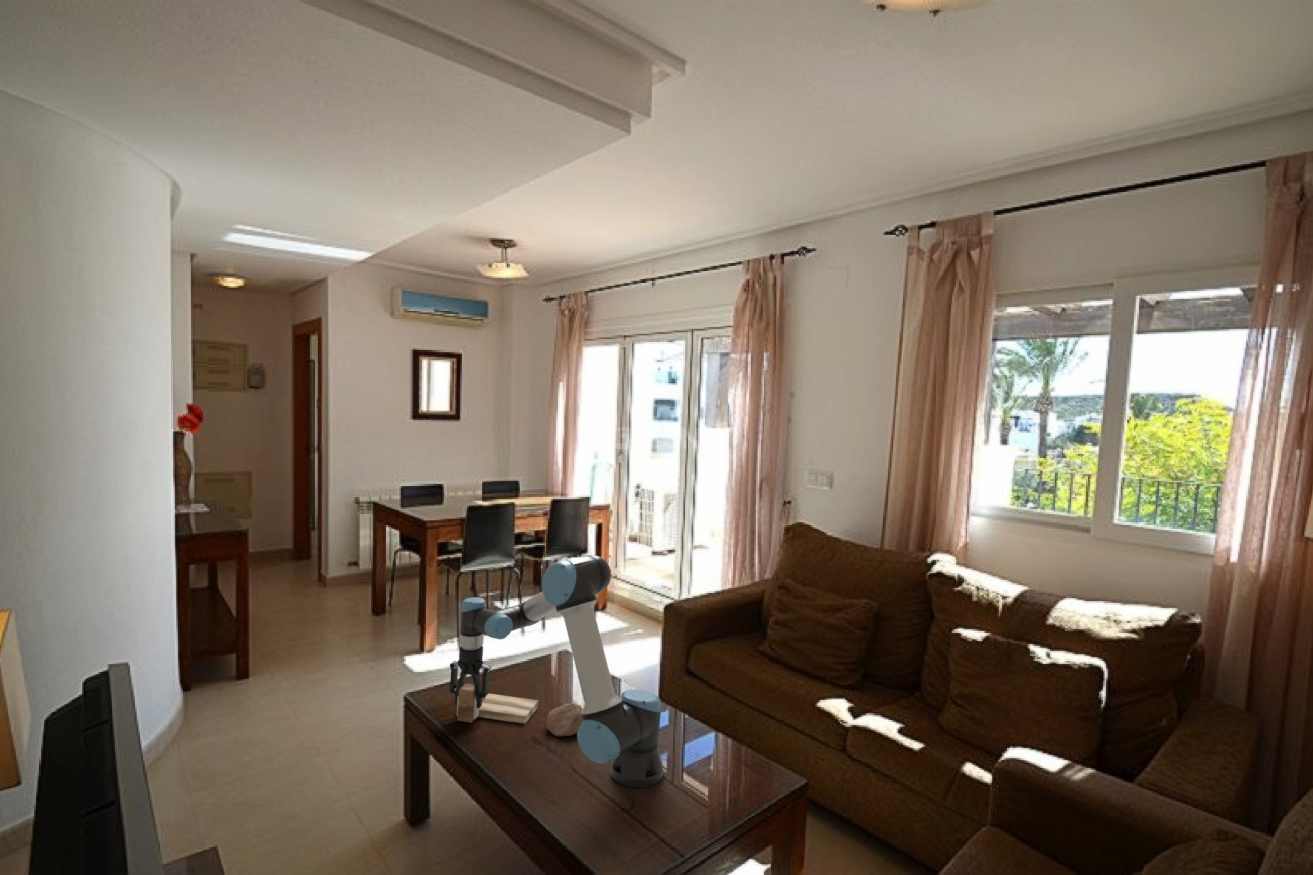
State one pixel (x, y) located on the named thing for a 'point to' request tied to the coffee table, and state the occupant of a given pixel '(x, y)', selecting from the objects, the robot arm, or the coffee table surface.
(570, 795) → the coffee table surface
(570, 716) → the stone
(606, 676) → the robot arm
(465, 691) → the block
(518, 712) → the board
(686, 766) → the coffee table surface
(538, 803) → the coffee table surface
